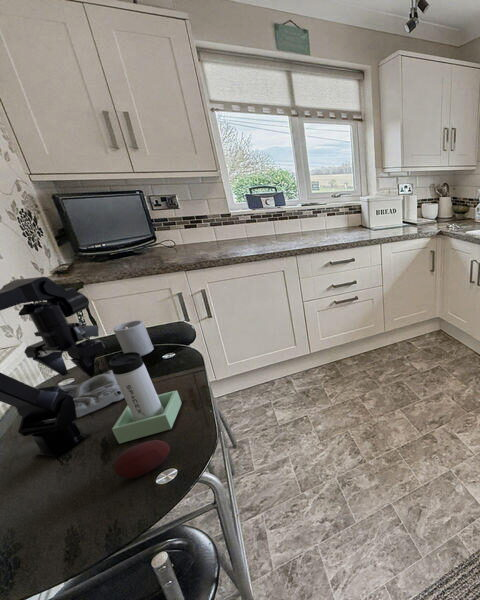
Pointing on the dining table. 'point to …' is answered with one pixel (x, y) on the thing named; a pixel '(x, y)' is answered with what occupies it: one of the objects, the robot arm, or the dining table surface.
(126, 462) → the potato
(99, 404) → the wall plaque
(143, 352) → the cup
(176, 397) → the holder
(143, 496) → the dining table surface
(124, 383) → the travel mug
